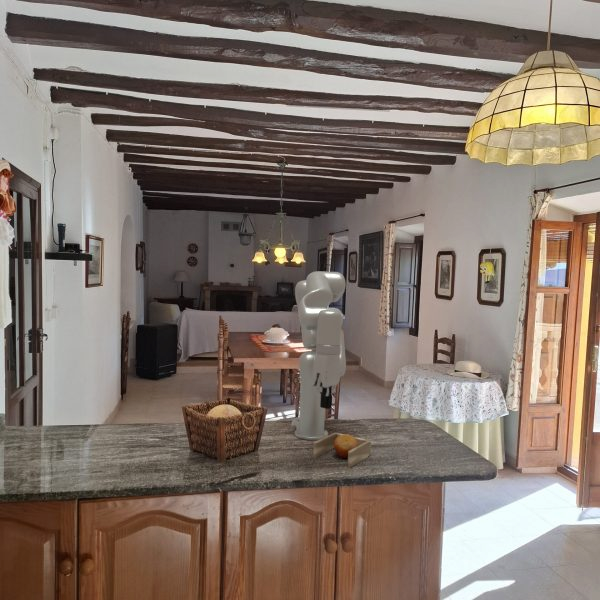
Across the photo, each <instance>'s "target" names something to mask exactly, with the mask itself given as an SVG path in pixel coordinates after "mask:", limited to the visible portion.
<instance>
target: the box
mask: <svg viewBox="0 0 600 600" xmlns="http://www.w3.org/2000/svg"><path fill="white" fill-rule="evenodd" d="M340 435H345V434H343V433H340V432H335V431H334V432H332V433H331V434H328V436H326V437H324V438H322V439H320V440H315V441H314V442H313V449H312V451H313V452H312V457H314V459H317V458H319V457H321V456H322V455H325V454H326V453H328V452H330V451H332V450H334V449H333V448H334V441H335V439H336V438H337V437H338V436H340ZM353 437H354V438H355V439H356V440H357V443H358V446H357V447H356V448H354V449H352V450H350V451H348V458H347V468H350V469H351V468H352V467H353V468H354V466H356V465H358V464H359V463H361V462H362V461H364V460H365V459H367V458H369V457H370V456H371V451H372V450H371V449H372V447H371V445H372V441H371V440H368V439H364V438H359V437H355V436H353ZM331 449H332V450H331ZM329 450H330V451H329ZM368 456H369V457H368Z"/></svg>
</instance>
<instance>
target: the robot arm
mask: <svg viewBox="0 0 600 600" xmlns="http://www.w3.org/2000/svg"><path fill="white" fill-rule="evenodd" d="M345 289H346V278H345V277H344V275H343V274H342V273H341V272H339V271H324V270H323V271H321V270H320V271H312V272H311V273H309V274H308V275H307V276H306V279H305V280H300V281H298V282H297V283H296V285H295V288H294V293H295V294H294V296H295V297H294V298H295V301H296V305H297V311H298V313H297V314H298V320H299V325H300V327H301V339H302V340H301V342H302V345H303V347H304V348H305V349H306V350H309V351H305V352H303V353H301V355H300V356H299V358H298V367H299V378H300V382H299V383H300V389H299V390H300V391H299V413H298V414H299V417H298V419H299V420H298V419H294V418H293V419H292V421H291V423H290V426H292V427H296V429H295V430H294V436H295V437H297V438H299V439H302V440H307V441H308V440H309V441H318V440H320V439H322V438H324V437H326V436H328V435H329V431H328V430H326V429H325V417H326V416H325V415H326V409H327V410H330V409H332V407H333V406H332V405H333V394H334V389H335V388H337V385H338V384H339V383H340V380H341V377H343V376H344V375H345V373H346V372H347V371H346V370H347V360H346V349H345V347H346V346H345V345H346V344H345V337H344V336H345V335H344V331H343V330H342V326H343V324H344V314H343V313H342V311H341V310H340V309H339V308H337V307H329V305H331V303H336V302H338V301H339V300H340V299H341V297H342V296H343V294H344V293H345V291H346V290H345ZM310 350H311V351H310Z"/></svg>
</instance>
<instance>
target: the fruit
mask: <svg viewBox="0 0 600 600" xmlns="http://www.w3.org/2000/svg"><path fill="white" fill-rule="evenodd" d="M354 437H355V436H353V435H351V434H347V433H346V434H344V435H340V436H338V437H337V438H336V439H335V441H334V449H333V450H334V451H335V453H336V454H337V456H338V457H339V458H341V459H345V458H346V459H348V451H350V450H352V449H354V448H356V447H357V446H358V443H357V440H356V439H355V438H354Z"/></svg>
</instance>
